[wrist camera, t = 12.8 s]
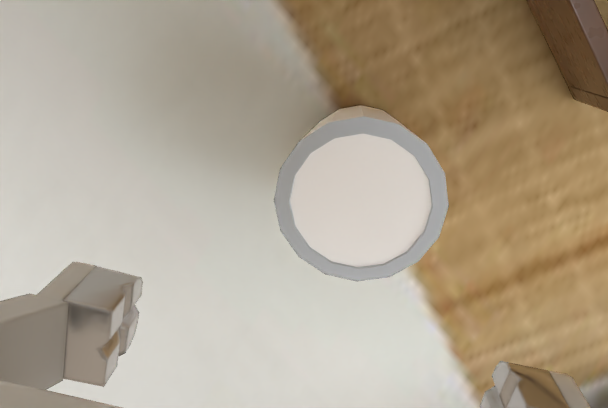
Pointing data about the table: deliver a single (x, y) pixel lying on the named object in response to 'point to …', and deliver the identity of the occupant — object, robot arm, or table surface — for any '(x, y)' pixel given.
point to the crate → (577, 46)
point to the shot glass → (361, 195)
